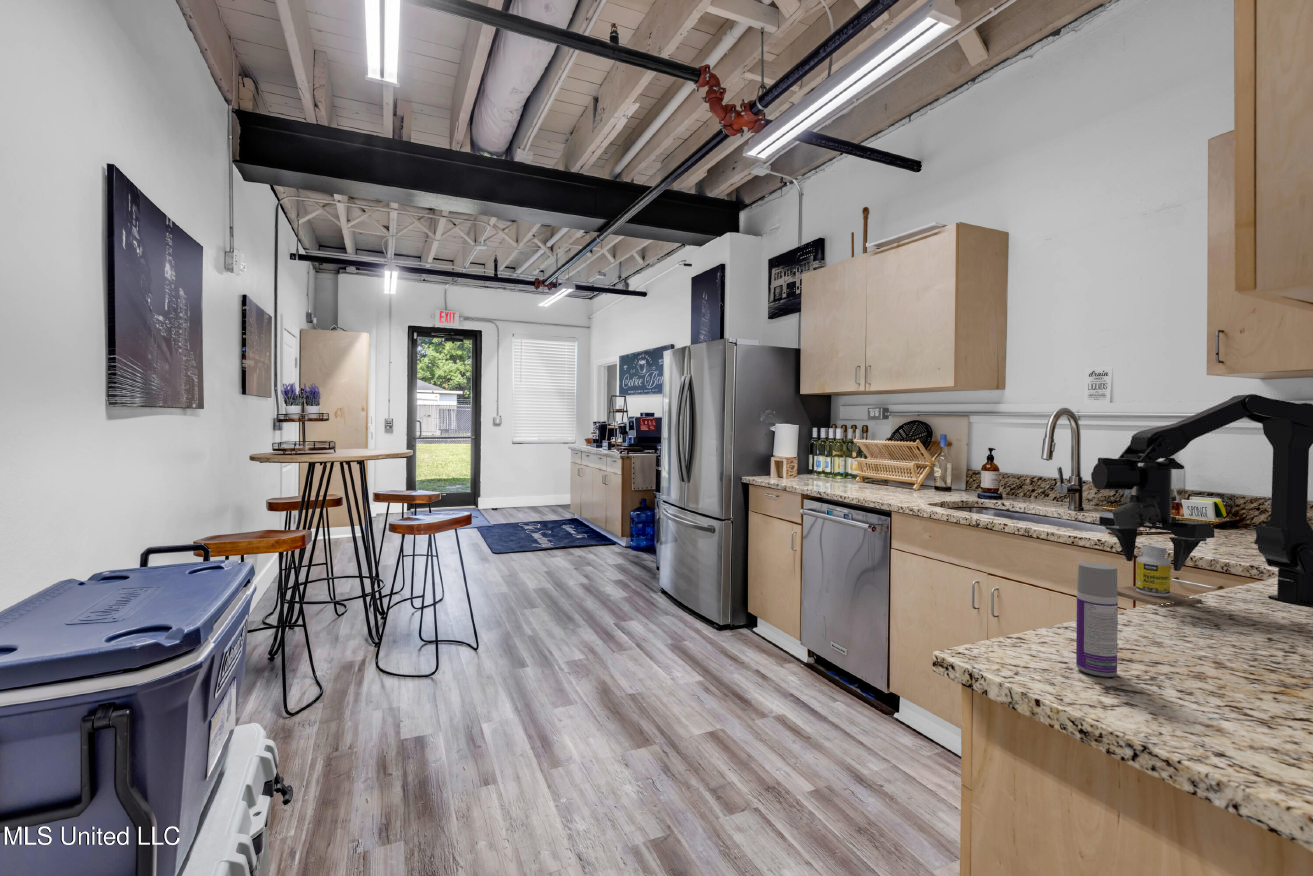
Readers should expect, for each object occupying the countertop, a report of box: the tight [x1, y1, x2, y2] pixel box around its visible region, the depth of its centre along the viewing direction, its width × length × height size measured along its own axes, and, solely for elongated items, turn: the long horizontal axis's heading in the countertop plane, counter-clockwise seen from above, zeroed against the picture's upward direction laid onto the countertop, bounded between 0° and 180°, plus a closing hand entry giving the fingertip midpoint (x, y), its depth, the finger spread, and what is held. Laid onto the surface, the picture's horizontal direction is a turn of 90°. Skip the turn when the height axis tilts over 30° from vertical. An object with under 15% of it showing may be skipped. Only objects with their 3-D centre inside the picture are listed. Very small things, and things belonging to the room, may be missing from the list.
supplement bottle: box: [1135, 544, 1172, 597], centre depth 121 cm, size 5×5×10 cm
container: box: [1075, 561, 1119, 678], centre depth 83 cm, size 5×5×15 cm
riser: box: [1117, 585, 1203, 608], centre depth 121 cm, size 11×11×2 cm
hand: (1152, 565), depth 121 cm, fingers open, 9 cm apart
